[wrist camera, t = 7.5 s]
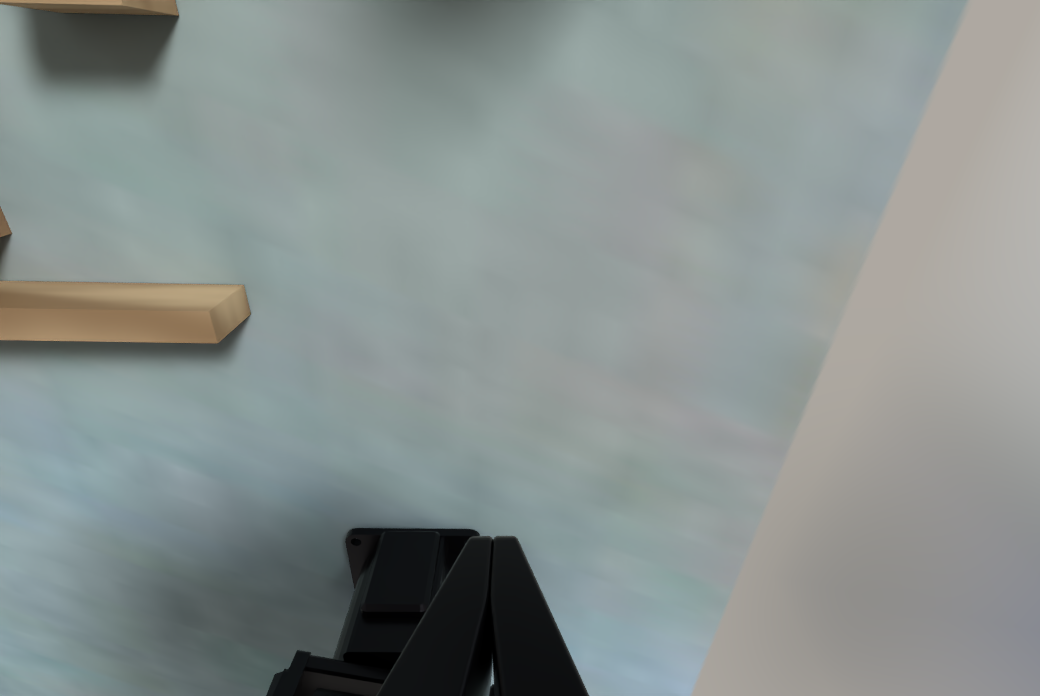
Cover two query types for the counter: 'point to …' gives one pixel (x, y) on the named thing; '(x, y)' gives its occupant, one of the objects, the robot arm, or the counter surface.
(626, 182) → the counter surface
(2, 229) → the walnut block
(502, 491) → the counter surface
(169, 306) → the channel
